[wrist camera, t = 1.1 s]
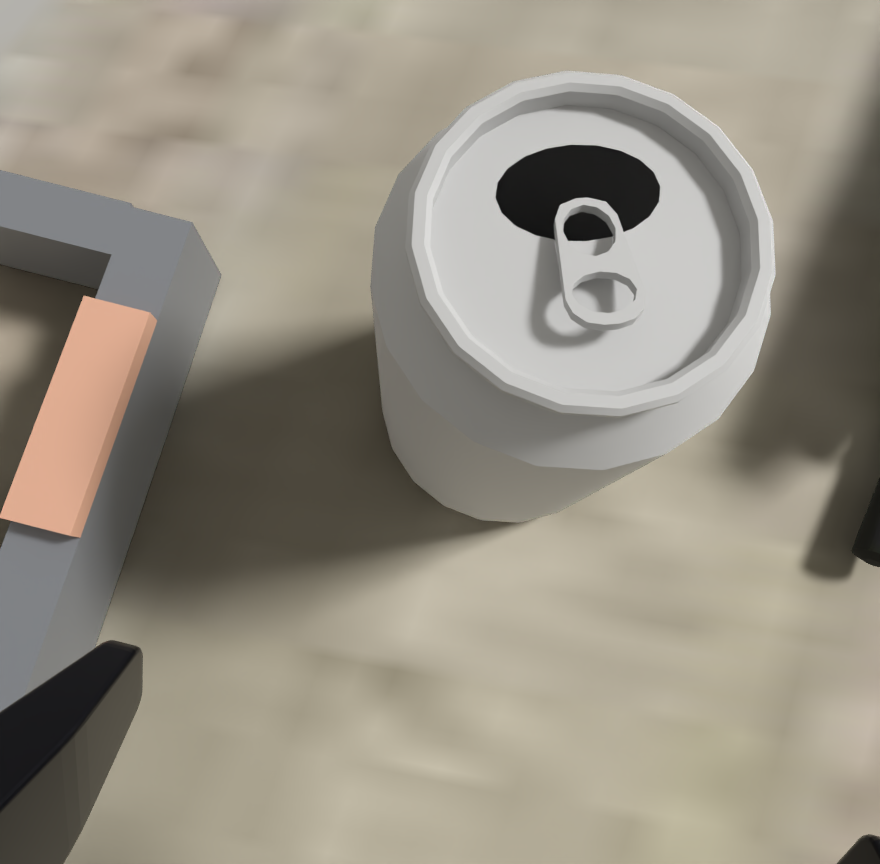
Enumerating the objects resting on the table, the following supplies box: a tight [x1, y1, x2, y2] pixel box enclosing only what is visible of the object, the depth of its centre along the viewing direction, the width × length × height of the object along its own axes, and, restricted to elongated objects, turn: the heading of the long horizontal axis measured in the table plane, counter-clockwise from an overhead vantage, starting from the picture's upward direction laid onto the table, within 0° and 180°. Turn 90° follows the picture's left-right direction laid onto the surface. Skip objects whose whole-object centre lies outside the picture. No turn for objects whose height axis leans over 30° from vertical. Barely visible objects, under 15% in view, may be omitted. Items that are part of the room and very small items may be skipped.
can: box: [370, 71, 776, 523], centre depth 18 cm, size 8×8×12 cm
